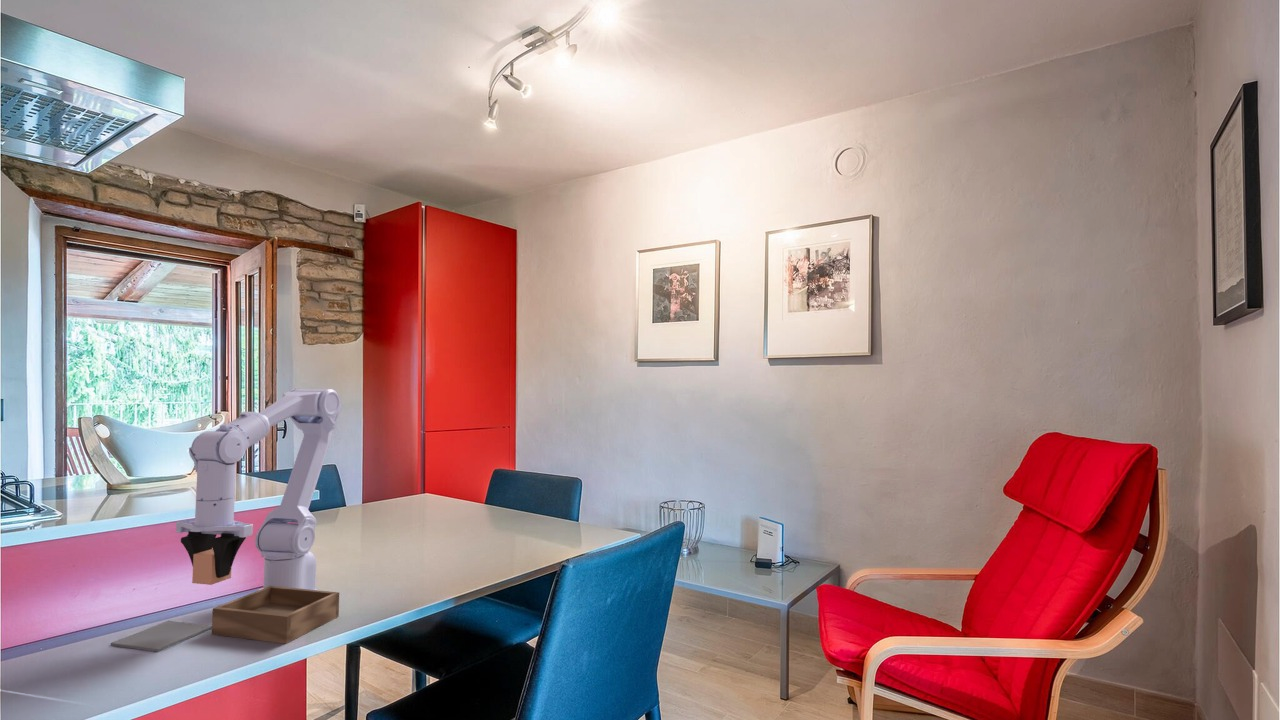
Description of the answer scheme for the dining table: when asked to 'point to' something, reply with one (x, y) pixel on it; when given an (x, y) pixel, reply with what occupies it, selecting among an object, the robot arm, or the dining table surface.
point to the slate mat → (162, 636)
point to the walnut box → (275, 614)
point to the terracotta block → (206, 568)
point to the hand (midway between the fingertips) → (212, 575)
